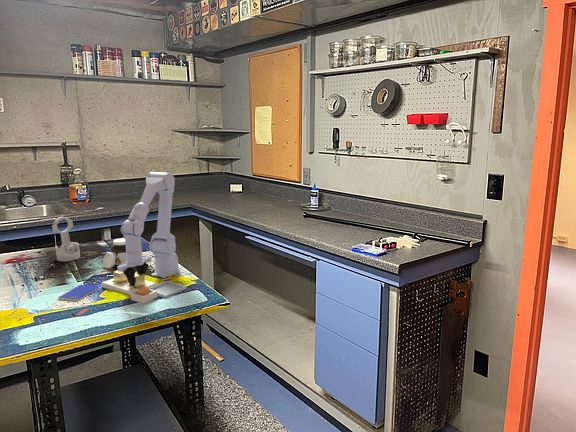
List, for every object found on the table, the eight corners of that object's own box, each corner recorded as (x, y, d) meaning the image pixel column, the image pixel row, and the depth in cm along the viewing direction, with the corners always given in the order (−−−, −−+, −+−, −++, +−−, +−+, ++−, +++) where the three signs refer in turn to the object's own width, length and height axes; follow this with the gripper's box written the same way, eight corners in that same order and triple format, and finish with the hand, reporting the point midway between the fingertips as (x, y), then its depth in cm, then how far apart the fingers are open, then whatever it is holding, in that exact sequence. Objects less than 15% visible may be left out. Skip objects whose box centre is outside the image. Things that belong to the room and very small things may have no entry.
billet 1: (122, 282, 177) (121, 269, 176) (129, 284, 175) (128, 270, 174) (114, 286, 174) (113, 271, 172) (121, 288, 172) (119, 273, 170)
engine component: (84, 257, 209) (73, 253, 215) (79, 216, 204) (68, 213, 210) (61, 263, 200) (51, 259, 206) (56, 220, 196) (45, 217, 202)
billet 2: (138, 286, 172) (137, 271, 171) (145, 288, 170) (144, 273, 169) (129, 289, 169) (128, 275, 167) (136, 291, 167) (135, 277, 165)
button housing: (145, 294, 165) (144, 287, 164) (157, 298, 162) (156, 291, 161) (131, 300, 159) (130, 293, 159) (143, 304, 156) (142, 297, 155)
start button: (144, 292, 163) (144, 285, 162) (152, 294, 161) (151, 287, 160) (136, 296, 159) (135, 289, 159) (143, 298, 157) (142, 291, 157)
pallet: (125, 278, 181) (124, 274, 181) (156, 287, 172) (156, 283, 171) (102, 287, 172) (101, 282, 172) (134, 297, 163) (133, 292, 162)
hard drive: (77, 298, 159) (97, 285, 171) (58, 296, 160) (79, 284, 172) (78, 302, 159) (98, 289, 171) (58, 300, 161) (79, 288, 173)
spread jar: (137, 262, 202) (135, 238, 199) (124, 270, 191) (122, 245, 188) (114, 261, 204) (112, 237, 201) (99, 269, 193) (97, 244, 190)
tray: (167, 284, 176) (166, 280, 175) (187, 289, 170) (186, 286, 170) (145, 293, 166) (145, 289, 166) (165, 299, 161) (165, 295, 161)
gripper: (125, 257, 158) (128, 292, 161) (155, 247, 170) (158, 280, 173) (112, 254, 162) (115, 288, 165) (143, 244, 174) (145, 276, 177)
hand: (136, 283), depth 169 cm, fingers closed on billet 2, 4 cm apart
